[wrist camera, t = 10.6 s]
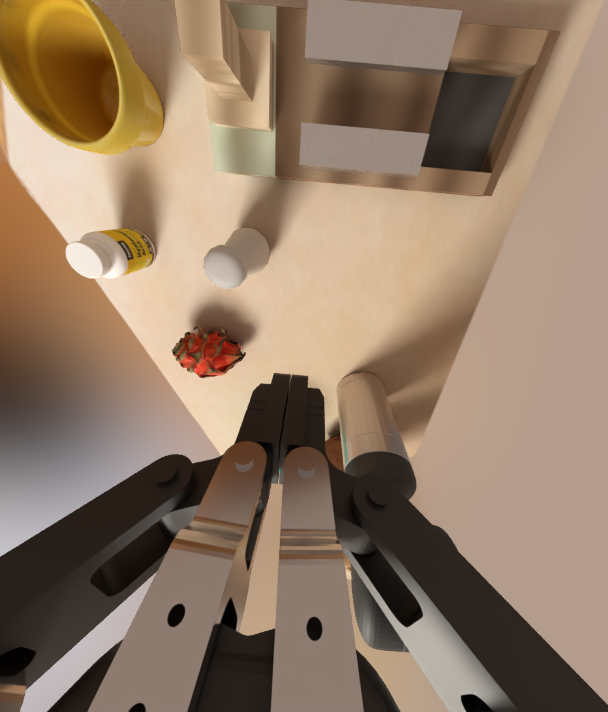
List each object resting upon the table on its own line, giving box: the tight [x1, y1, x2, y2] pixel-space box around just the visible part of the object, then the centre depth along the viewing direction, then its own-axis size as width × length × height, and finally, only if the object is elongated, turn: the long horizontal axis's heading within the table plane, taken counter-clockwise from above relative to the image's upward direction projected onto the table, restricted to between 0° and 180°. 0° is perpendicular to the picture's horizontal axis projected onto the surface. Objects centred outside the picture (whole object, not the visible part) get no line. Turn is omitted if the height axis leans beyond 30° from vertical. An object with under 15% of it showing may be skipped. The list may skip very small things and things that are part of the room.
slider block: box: [174, 0, 274, 132], centre depth 19 cm, size 6×6×10 cm
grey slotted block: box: [299, 0, 463, 178], centre depth 23 cm, size 12×10×4 cm
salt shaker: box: [204, 228, 270, 289], centre depth 29 cm, size 6×6×13 cm
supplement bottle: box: [66, 228, 156, 278], centre depth 31 cm, size 5×5×10 cm
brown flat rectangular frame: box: [210, 2, 561, 196], centre depth 26 cm, size 32×12×3 cm, turn 86°
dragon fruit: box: [172, 327, 246, 378], centre depth 41 cm, size 8×8×12 cm
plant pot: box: [0, 0, 163, 155], centre depth 23 cm, size 10×10×10 cm
